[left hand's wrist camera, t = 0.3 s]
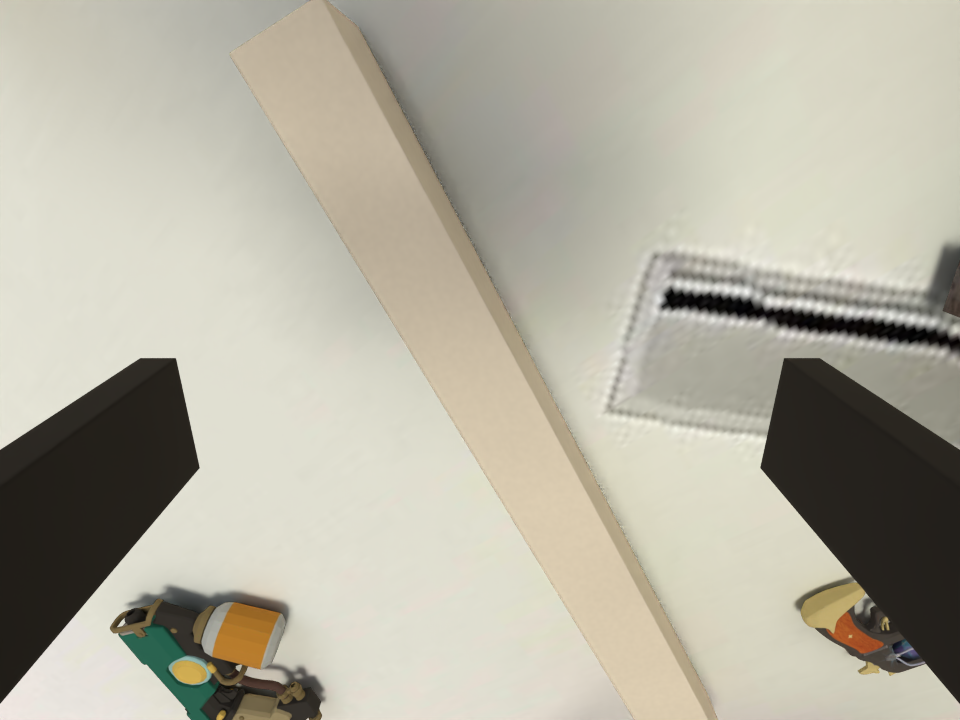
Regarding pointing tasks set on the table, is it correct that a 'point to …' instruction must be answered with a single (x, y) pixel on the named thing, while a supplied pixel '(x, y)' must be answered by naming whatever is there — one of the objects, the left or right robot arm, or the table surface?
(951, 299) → the toy
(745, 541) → the table surface
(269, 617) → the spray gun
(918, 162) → the table surface
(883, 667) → the toy gun
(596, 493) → the beam
